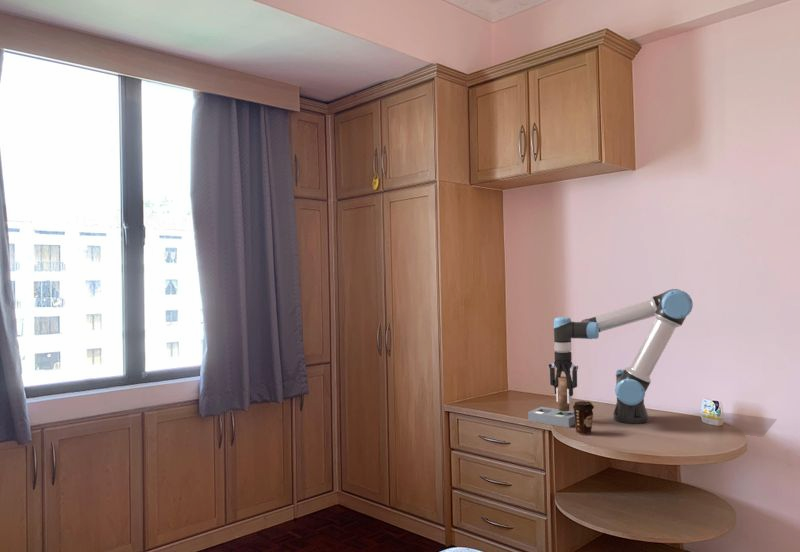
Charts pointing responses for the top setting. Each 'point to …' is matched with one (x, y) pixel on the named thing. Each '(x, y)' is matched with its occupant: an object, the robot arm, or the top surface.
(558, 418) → the socket block
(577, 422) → the coffee cup
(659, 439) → the top surface
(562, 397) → the walnut plug
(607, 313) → the robot arm
